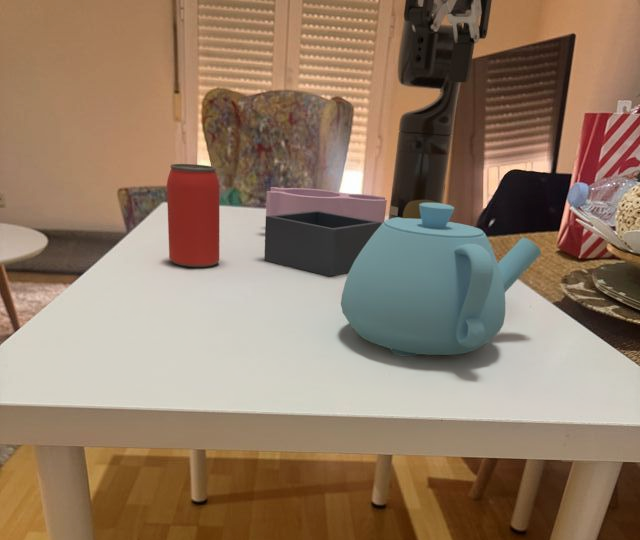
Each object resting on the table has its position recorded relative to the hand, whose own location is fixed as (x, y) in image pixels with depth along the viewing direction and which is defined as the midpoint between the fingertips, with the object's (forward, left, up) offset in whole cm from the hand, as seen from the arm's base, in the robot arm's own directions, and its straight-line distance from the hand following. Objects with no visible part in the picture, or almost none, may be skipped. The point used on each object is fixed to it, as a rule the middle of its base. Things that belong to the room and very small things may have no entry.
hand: (440, 79), depth 67 cm
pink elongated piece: (-22, -30, -24) cm, 44 cm away
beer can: (+11, -27, -24) cm, 37 cm away
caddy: (-4, -17, -23) cm, 29 cm away
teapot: (+14, +11, -24) cm, 29 cm away
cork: (+1, +1, -24) cm, 23 cm away
